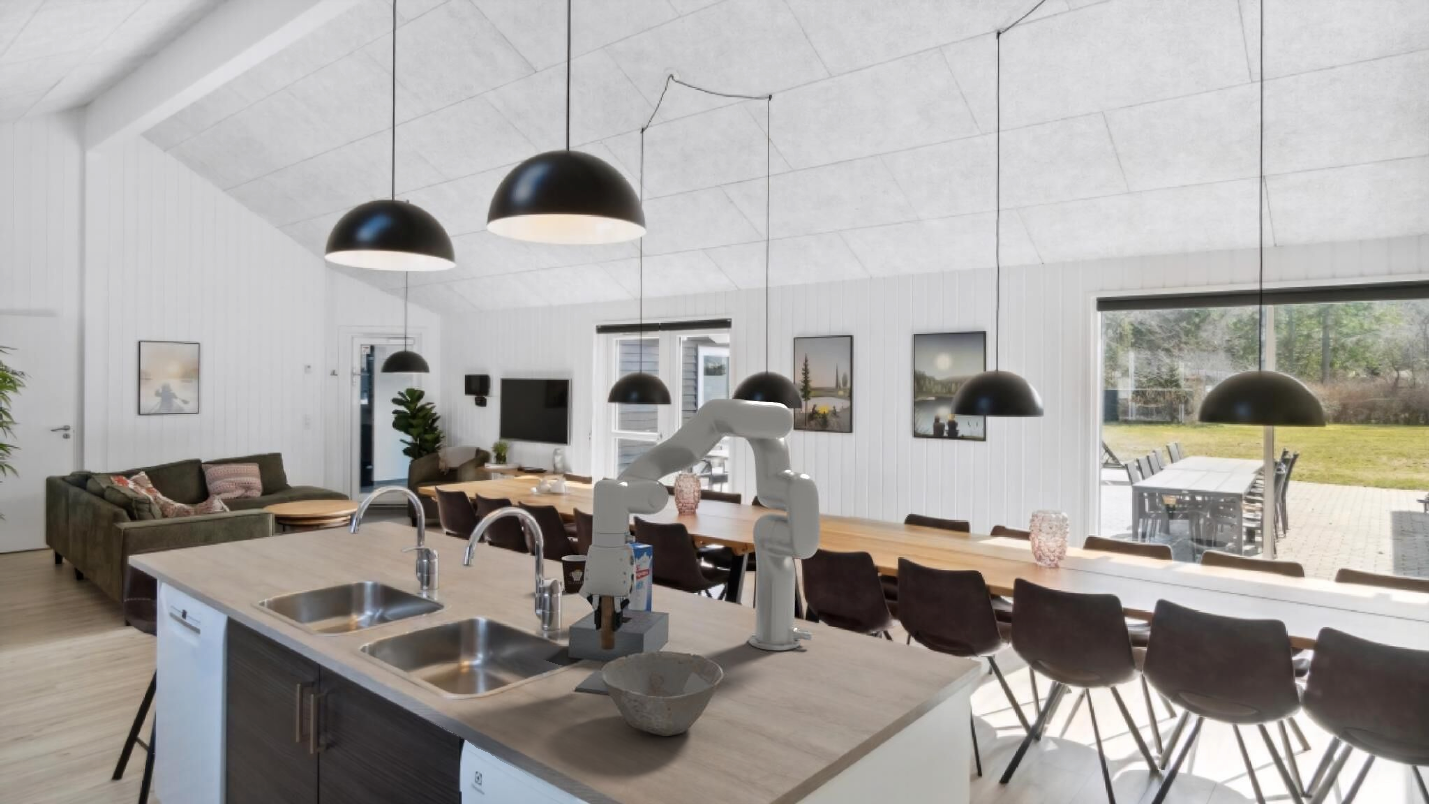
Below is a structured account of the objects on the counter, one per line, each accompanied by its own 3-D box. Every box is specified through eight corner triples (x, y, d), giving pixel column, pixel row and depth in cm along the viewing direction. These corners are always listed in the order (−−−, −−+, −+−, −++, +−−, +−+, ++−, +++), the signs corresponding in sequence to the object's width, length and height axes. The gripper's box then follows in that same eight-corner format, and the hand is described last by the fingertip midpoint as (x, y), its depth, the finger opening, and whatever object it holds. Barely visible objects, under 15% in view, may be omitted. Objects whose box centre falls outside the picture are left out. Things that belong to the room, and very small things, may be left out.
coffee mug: (556, 593, 235) (557, 560, 235) (566, 586, 243) (567, 554, 243) (593, 595, 233) (594, 562, 233) (602, 588, 242) (603, 556, 242)
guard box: (668, 641, 190) (668, 612, 190) (643, 665, 173) (643, 634, 173) (599, 634, 195) (600, 606, 195) (568, 657, 177) (569, 626, 177)
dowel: (617, 646, 162) (618, 578, 162) (611, 650, 159) (613, 581, 159) (603, 644, 163) (605, 577, 163) (597, 649, 160) (599, 580, 160)
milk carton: (636, 615, 212) (637, 542, 212) (651, 620, 208) (652, 545, 208) (607, 622, 205) (608, 546, 205) (622, 627, 201) (623, 550, 201)
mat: (639, 678, 165) (639, 676, 165) (621, 696, 155) (621, 693, 155) (595, 673, 167) (595, 671, 167) (575, 690, 157) (575, 687, 157)
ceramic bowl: (620, 764, 126) (622, 702, 126) (585, 710, 147) (586, 658, 147) (744, 742, 135) (745, 685, 135) (694, 695, 156) (695, 645, 156)
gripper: (654, 539, 162) (651, 628, 162) (581, 534, 167) (579, 620, 166) (641, 545, 155) (639, 638, 155) (566, 540, 159) (563, 630, 159)
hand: (608, 628), depth 161 cm, fingers closed on dowel, 3 cm apart
